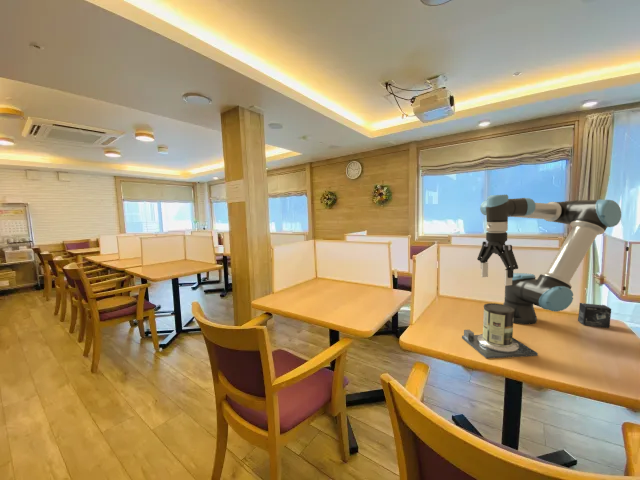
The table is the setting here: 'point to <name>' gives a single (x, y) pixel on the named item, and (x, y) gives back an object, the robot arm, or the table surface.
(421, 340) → the table surface
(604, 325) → the box
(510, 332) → the coffee can
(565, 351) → the table surface
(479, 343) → the flange plate
